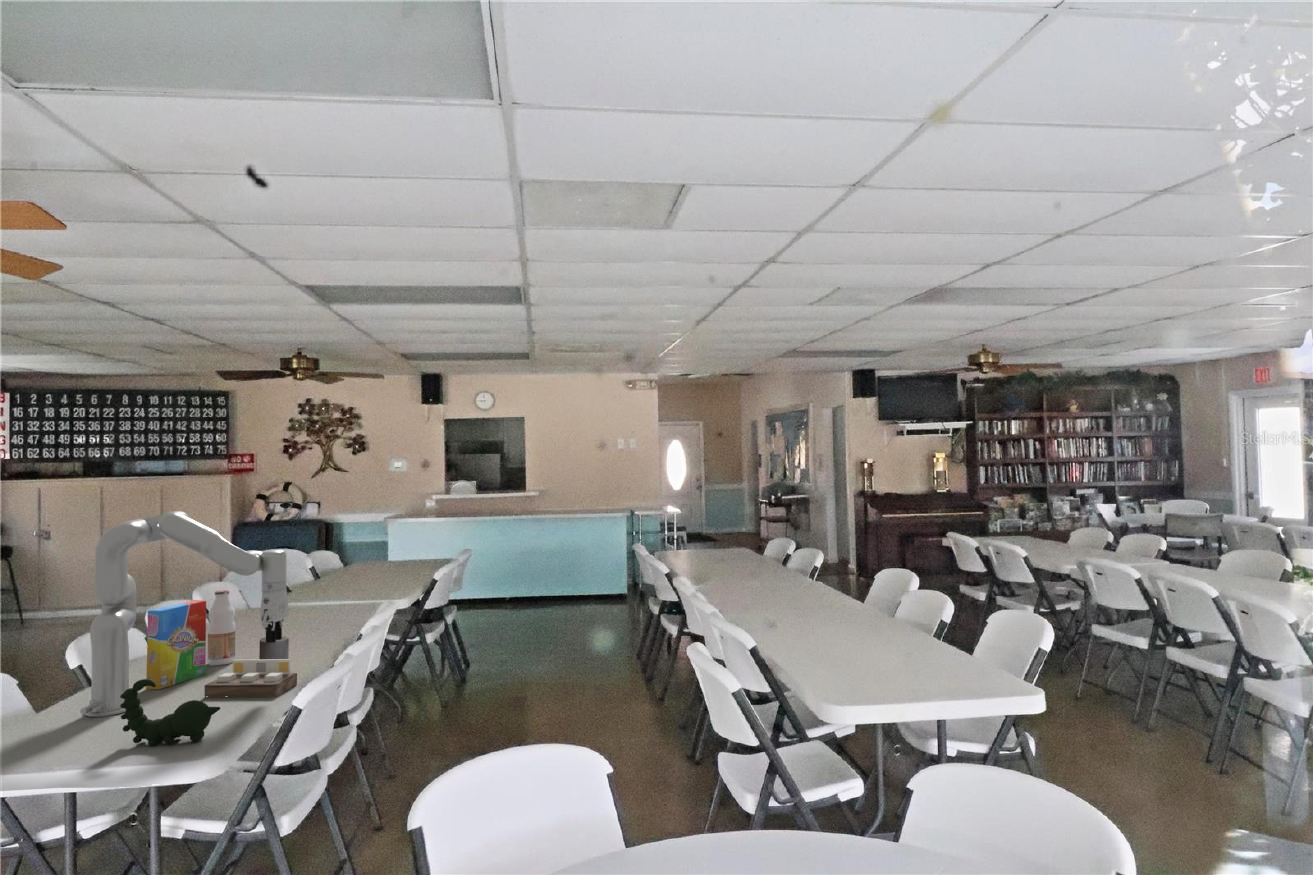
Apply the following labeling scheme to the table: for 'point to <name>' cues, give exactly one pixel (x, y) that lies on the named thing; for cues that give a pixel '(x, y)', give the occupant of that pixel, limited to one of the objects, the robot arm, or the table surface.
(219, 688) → the button board
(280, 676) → the right button
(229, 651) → the fruit juice
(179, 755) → the table surface
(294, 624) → the table surface
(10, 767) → the table surface
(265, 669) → the card
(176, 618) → the game box
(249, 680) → the middle button
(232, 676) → the left button
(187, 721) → the toy figurine
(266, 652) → the pillar candle
